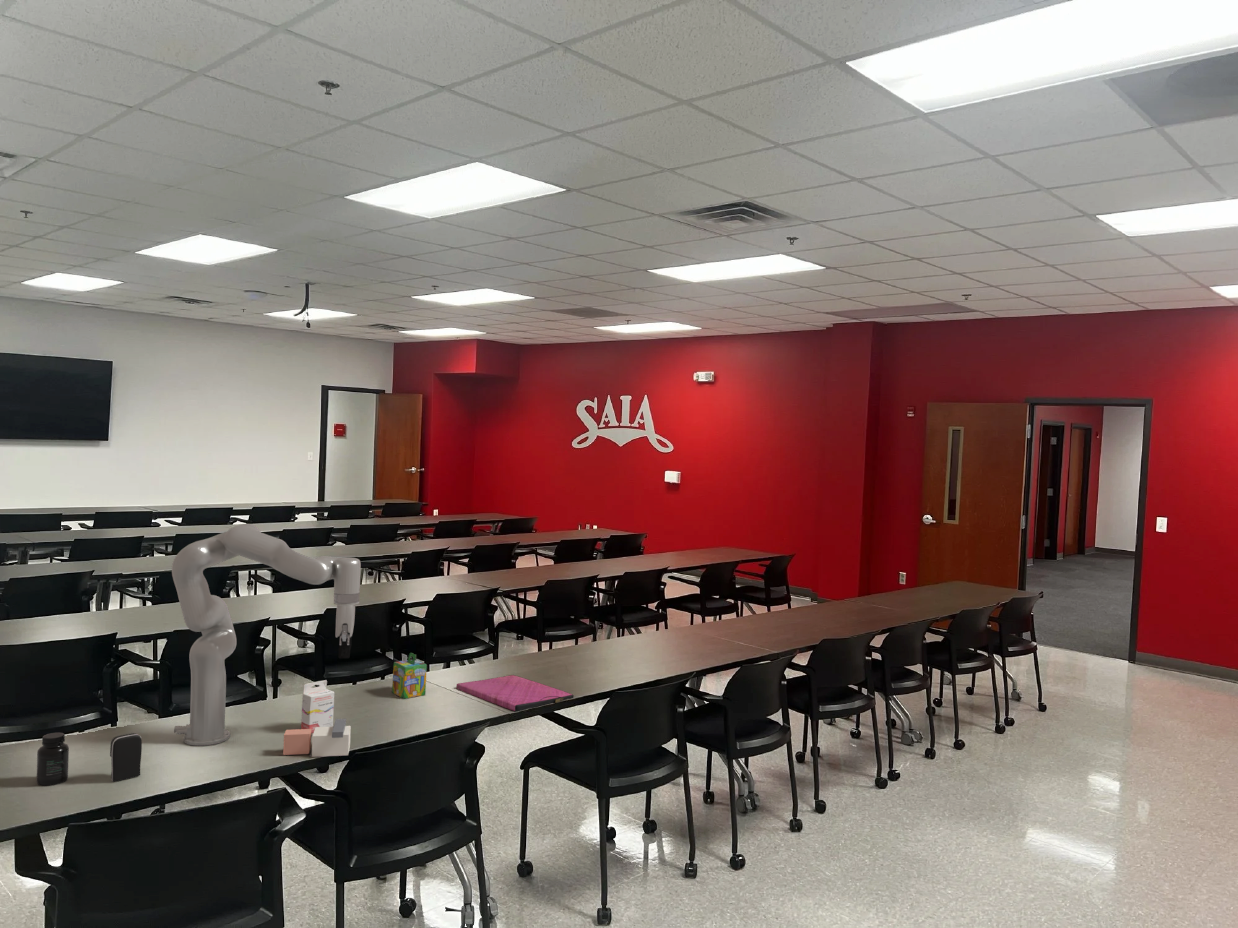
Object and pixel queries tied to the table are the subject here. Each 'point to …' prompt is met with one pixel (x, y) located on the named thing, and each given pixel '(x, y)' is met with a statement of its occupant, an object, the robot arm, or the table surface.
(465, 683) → the laptop bag
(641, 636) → the table surface
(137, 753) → the black rounded block
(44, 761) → the supplement bottle
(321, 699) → the ink cartridge box
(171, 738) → the table surface
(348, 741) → the block
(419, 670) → the chalk box
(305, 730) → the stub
